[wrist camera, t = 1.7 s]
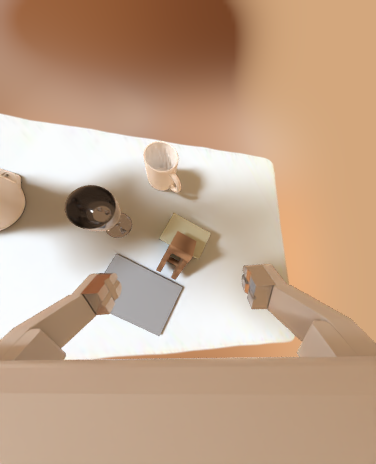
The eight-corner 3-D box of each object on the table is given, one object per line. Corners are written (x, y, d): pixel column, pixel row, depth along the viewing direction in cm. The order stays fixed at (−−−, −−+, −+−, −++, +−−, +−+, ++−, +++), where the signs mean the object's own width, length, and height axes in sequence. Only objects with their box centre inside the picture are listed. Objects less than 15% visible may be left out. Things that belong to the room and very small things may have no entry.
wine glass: (107, 243, 37) (72, 235, 22) (99, 216, 38) (58, 191, 23) (137, 233, 39) (121, 220, 24) (128, 207, 39) (107, 180, 25)
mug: (187, 190, 44) (194, 171, 34) (167, 205, 42) (169, 190, 32) (163, 162, 44) (163, 135, 34) (142, 176, 42) (135, 151, 32)
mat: (87, 301, 34) (85, 302, 33) (117, 254, 37) (116, 254, 36) (159, 334, 36) (159, 336, 35) (182, 286, 39) (182, 287, 38)
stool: (156, 268, 38) (154, 274, 27) (175, 234, 41) (179, 227, 30) (174, 277, 39) (178, 286, 28) (191, 243, 41) (201, 239, 30)
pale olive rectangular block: (159, 239, 40) (159, 237, 36) (172, 216, 41) (173, 212, 38) (195, 258, 41) (199, 259, 37) (206, 235, 42) (211, 233, 38)
